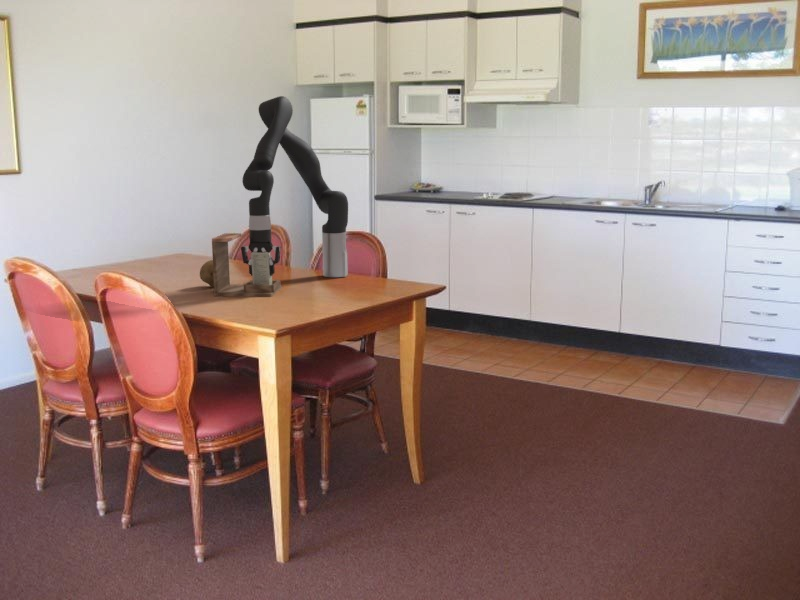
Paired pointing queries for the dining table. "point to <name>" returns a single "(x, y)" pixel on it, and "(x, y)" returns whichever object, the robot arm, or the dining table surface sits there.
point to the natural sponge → (207, 273)
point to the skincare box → (261, 268)
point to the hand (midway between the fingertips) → (261, 275)
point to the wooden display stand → (222, 272)
